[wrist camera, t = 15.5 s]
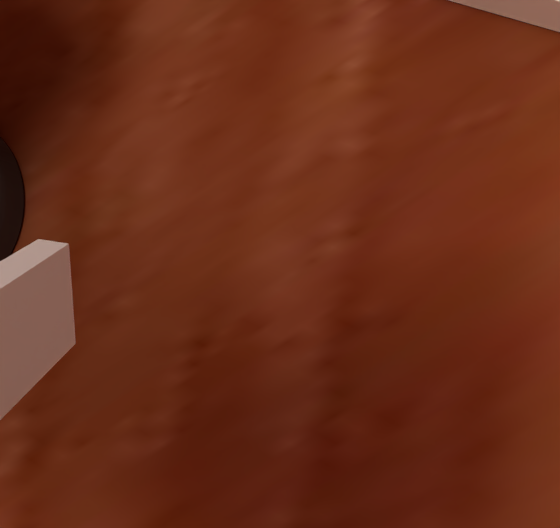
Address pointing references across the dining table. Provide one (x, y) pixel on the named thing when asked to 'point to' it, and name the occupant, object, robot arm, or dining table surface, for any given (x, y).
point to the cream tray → (522, 10)
